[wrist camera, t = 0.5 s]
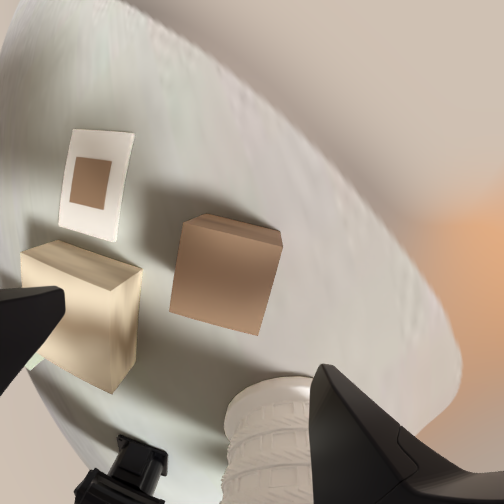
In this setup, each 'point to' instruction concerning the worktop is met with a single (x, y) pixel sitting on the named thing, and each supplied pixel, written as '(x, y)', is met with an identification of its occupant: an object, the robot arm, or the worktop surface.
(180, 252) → the walnut cube
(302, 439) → the decorative container
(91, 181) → the card
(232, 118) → the worktop surface
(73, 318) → the birch plinth
